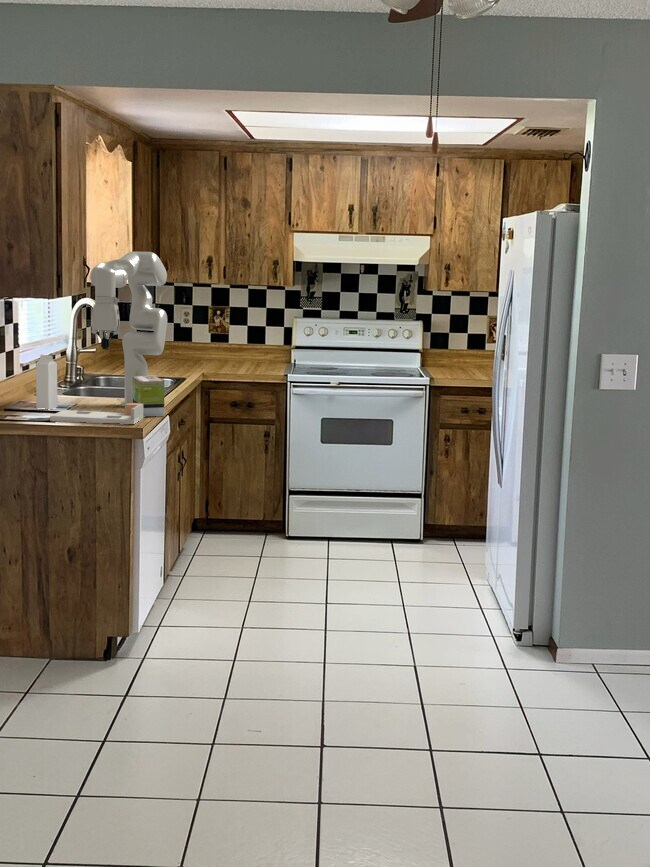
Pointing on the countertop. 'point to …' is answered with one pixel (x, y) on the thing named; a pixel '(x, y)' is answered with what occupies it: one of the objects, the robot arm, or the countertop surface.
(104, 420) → the board
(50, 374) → the milk
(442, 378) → the countertop surface
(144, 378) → the tea box
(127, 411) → the block
